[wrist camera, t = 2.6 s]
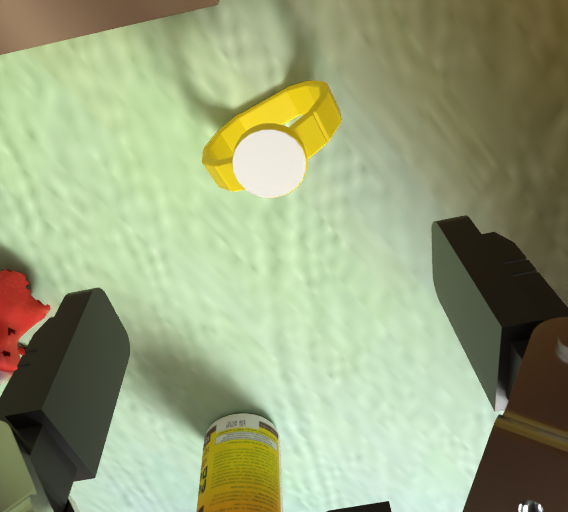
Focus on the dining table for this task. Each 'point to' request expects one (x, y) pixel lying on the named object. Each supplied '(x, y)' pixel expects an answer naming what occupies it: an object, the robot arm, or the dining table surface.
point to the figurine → (15, 319)
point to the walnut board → (78, 18)
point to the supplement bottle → (241, 466)
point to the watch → (273, 141)
